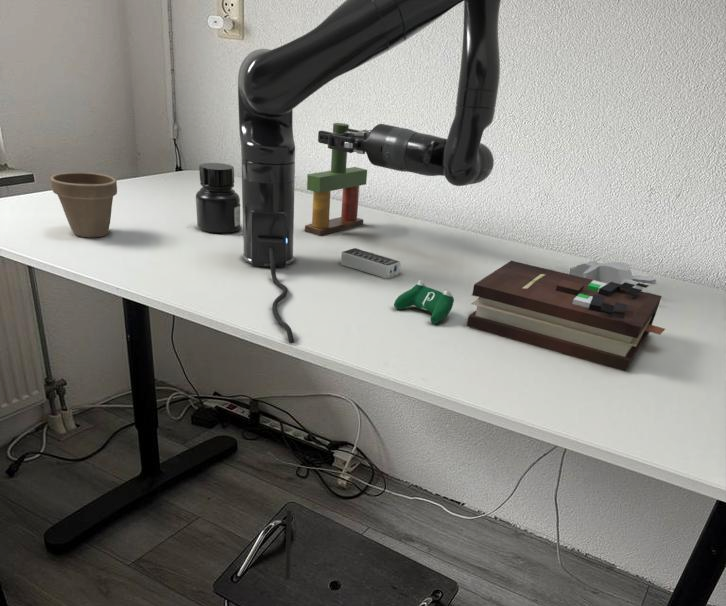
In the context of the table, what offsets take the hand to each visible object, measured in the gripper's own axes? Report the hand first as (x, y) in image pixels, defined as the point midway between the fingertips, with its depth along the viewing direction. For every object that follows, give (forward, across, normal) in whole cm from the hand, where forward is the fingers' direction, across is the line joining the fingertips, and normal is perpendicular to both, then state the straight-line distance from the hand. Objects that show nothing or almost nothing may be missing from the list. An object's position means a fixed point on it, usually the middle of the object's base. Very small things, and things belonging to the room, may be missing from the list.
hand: (332, 135), depth 137 cm
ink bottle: (+12, +21, +18) cm, 31 cm away
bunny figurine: (-61, -10, +18) cm, 65 cm away
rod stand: (-2, 0, +18) cm, 18 cm away
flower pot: (+24, +44, +18) cm, 53 cm away
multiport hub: (-25, +17, +18) cm, 35 cm away
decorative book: (-64, +18, +18) cm, 68 cm away
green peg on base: (-2, 0, +10) cm, 10 cm away
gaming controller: (-44, +28, +18) cm, 56 cm away
